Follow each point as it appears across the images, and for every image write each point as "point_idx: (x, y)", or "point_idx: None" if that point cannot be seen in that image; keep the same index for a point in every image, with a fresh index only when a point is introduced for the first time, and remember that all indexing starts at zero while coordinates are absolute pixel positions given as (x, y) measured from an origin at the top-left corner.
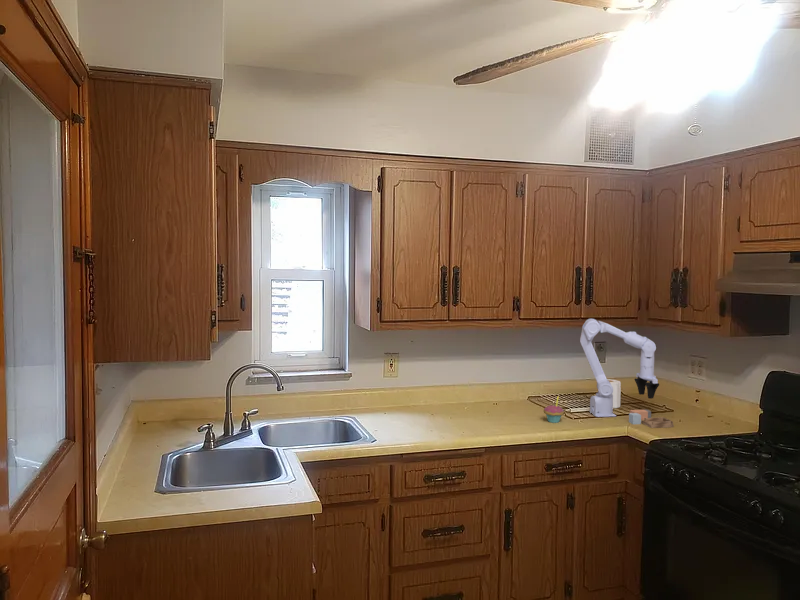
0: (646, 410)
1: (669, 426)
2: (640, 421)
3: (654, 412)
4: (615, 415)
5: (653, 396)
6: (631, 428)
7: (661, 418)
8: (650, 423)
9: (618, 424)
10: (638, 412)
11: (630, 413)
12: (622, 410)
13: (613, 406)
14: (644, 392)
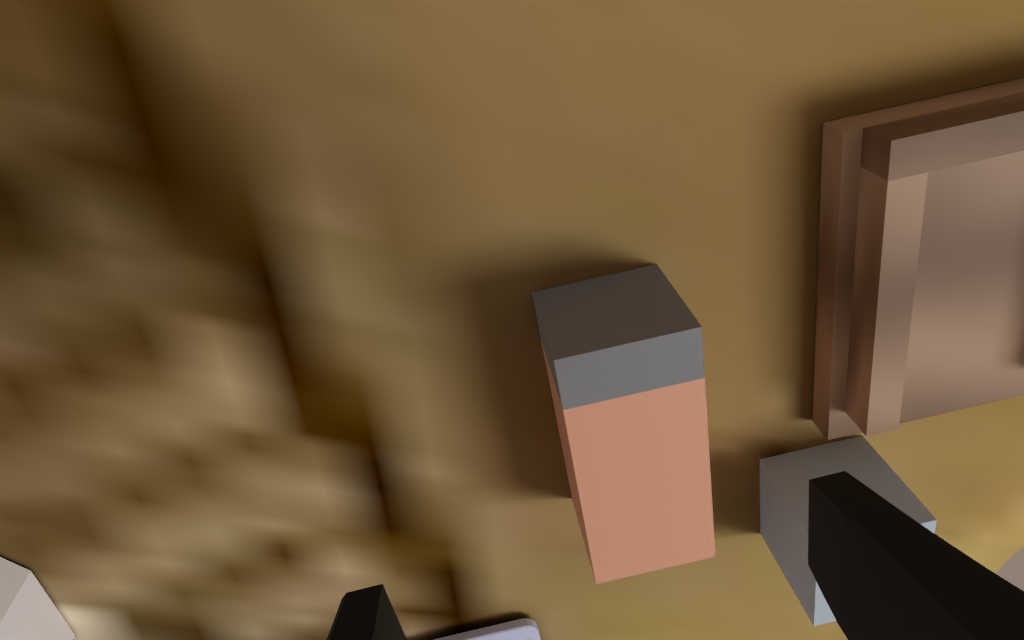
0: (626, 382)
1: None
2: (881, 462)
3: (139, 56)
4: (535, 633)
5: (888, 507)
6: (992, 544)
7: (919, 197)
8: (980, 369)
9: (833, 622)
10: (708, 498)
11: (828, 613)
12: (161, 520)
13: (41, 621)
14: (378, 625)
